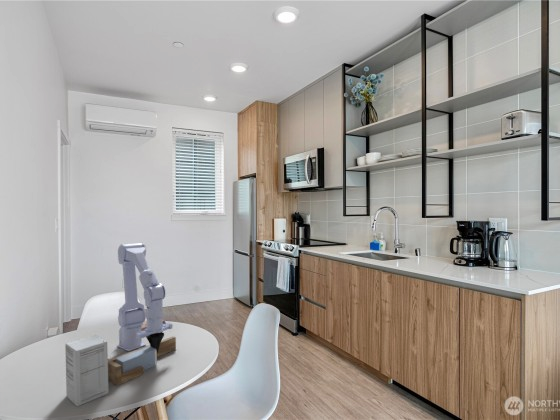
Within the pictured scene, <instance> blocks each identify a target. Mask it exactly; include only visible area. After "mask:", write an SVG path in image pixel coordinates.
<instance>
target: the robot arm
mask: <svg viewBox="0 0 560 420" xmlns="http://www.w3.org/2000/svg"><path fill="white" fill-rule="evenodd" d="M146 255H147V247H146V245H145V243H143V242H139V243H125V244H120V245H119V247H118V248H117V257H118V258H117V261H118V264H119V265H121V266H122V273H123V285H124V286H123V288H124V299H125V301H124V302H125V303H124V304H123V305H122V306H121V307H120V308H119V309H118V316H117V320H118V324H119V325H118V326H120V328H119V329H118V330H119V331H118V344H116V346H117V347H118V348H119V349H123V350H124V351H127V352H132V351H135V350H137V349H140V348H143V347H146V346H147V343H144V342H142V341H143V340H142V339H144V338H146V339H147V341H148V344H149V345H150V346H151V347H152V348H155V349H156V351H157V353H158V350H159V346H160V343H161V341H162V340H163V338H164V336H165V332H164V331H167V330H172V329H173V323H170V322H168V323H167V322H166V324H163V319H164V318H163V315H164V314H163V310H164V309H163V308H164V305H163V300H164V299H165V298H166V289H165V287H164V284H162V283H161V282H159V281H158V279H157V277H156V275H155V273H154V271H153V270H152V269H149V265H148V262H147V259H146ZM136 269H137V270H138V272H139V277H138V279H139V282H140V284H141V286H142V288H143V298H144V304H143V303H141V302H139V300H138V297H139V296H138V287H137V286H138V285H137V274H136V273H137V271H136ZM144 305H145V306H144ZM145 307H146V310H145ZM145 321H147V329H145V330H143V331H141V325H143V322H145Z"/></svg>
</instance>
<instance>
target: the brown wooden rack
mask: <svg viewBox="0 0 560 420" xmlns="http://www.w3.org/2000/svg"><path fill="white" fill-rule="evenodd" d="M176 339H177V337H176V336H170V337H167V338H165V339H162V340H161V343H160V346H159V350H158V353H157V357H159V356H162V355H165V354H167V353H169V352H173V351H175V350H176V347H177V342H176V341H177V340H176ZM149 346H150V344H149V345H145V346H142V347H140V348H137V349H134V350H131V351H128V352H127V353H123V354H122V355H119V356H115V357H113V358H110V359H109V358H108V382H110V383H112V384H114V385H116V386H119V385H121V384H123V383H125V382H128V381H131V380H132V379H136V378H137V377H139V376H142V375H144V371H143V367H142V366H139V367H137V368H135V369H132V370H130V371H127V372H125V373H122V374H121V365H119V364H117V363H116V359H117V358H120V357H122V356H125V355H128V354H130V353H133V352H136V351H138V350H141V349H144V348H146V347H149ZM150 347H151V346H150Z"/></svg>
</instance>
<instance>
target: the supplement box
mask: <svg viewBox="0 0 560 420" xmlns="http://www.w3.org/2000/svg"><path fill="white" fill-rule="evenodd" d="M64 345H65V350H64V351H65V381H66V382H65V384H66V386H65V387H66V388H65V389H66V390H65V391H66V393H65V395H66V398H67V399H68V400H70V401H71V402H72V403H73V404H74V405H75V406H76V407H80V406H82V405H84V404H87V403H90V402H91V401H93V400H96V399H98V398H101V397H103V396H106V395H108V394H109V381H108V359H109V357H108V356H109V355H108V341H107V340H105V339H103V338H102V337H100V336H98V335H97V334H94V335H90V336H87V337H83V338H80V339H76V340H74V341H70V342H67V343H65V344H64Z"/></svg>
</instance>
